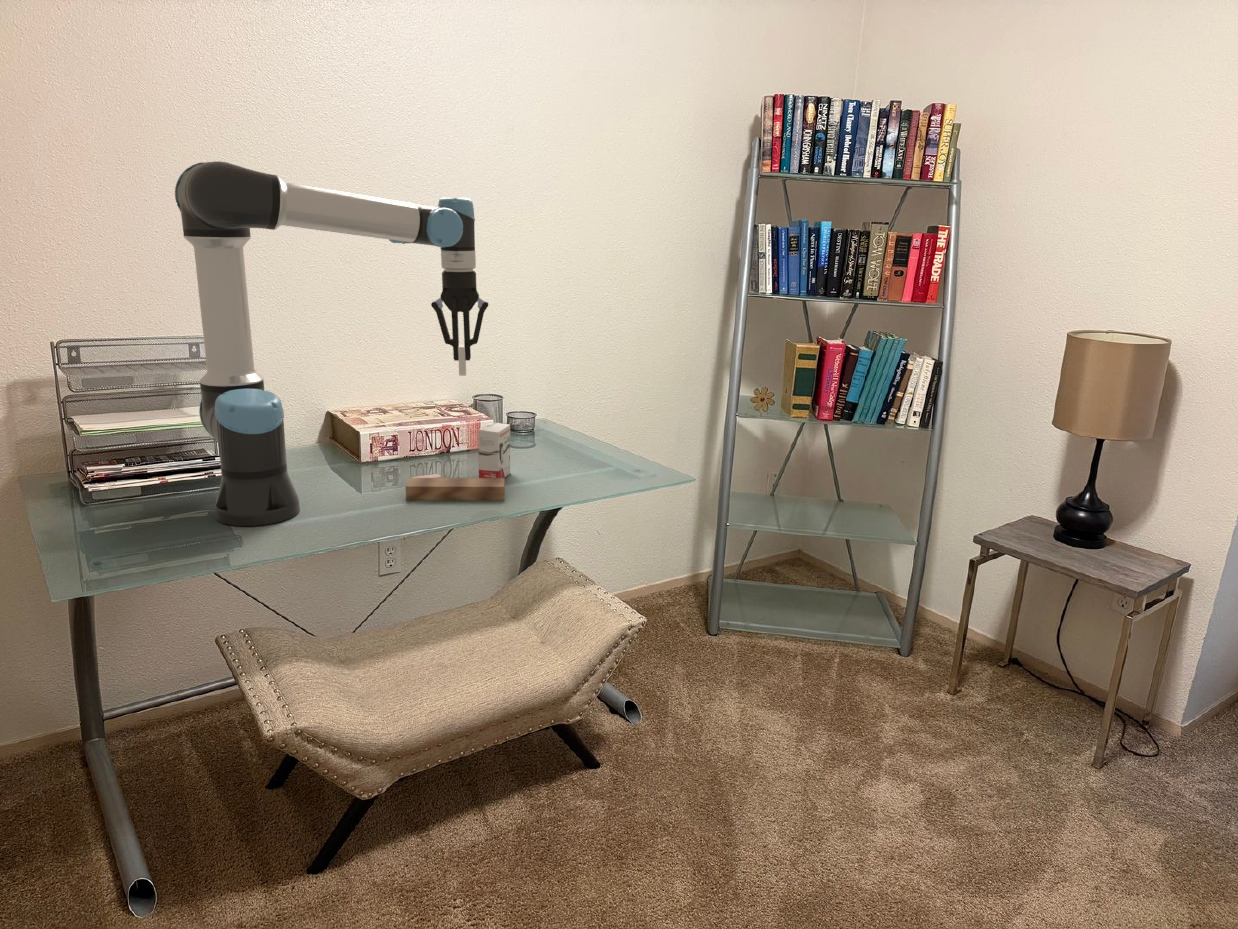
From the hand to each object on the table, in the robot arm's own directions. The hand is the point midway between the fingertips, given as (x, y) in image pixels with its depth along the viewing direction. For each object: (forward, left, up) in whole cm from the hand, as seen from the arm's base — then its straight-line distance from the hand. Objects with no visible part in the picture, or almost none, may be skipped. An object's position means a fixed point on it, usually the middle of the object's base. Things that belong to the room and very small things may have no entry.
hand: (462, 374), depth 199 cm
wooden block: (0, -24, -21) cm, 32 cm away
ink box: (+8, -11, -22) cm, 25 cm away
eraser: (-7, -16, -22) cm, 28 cm away
